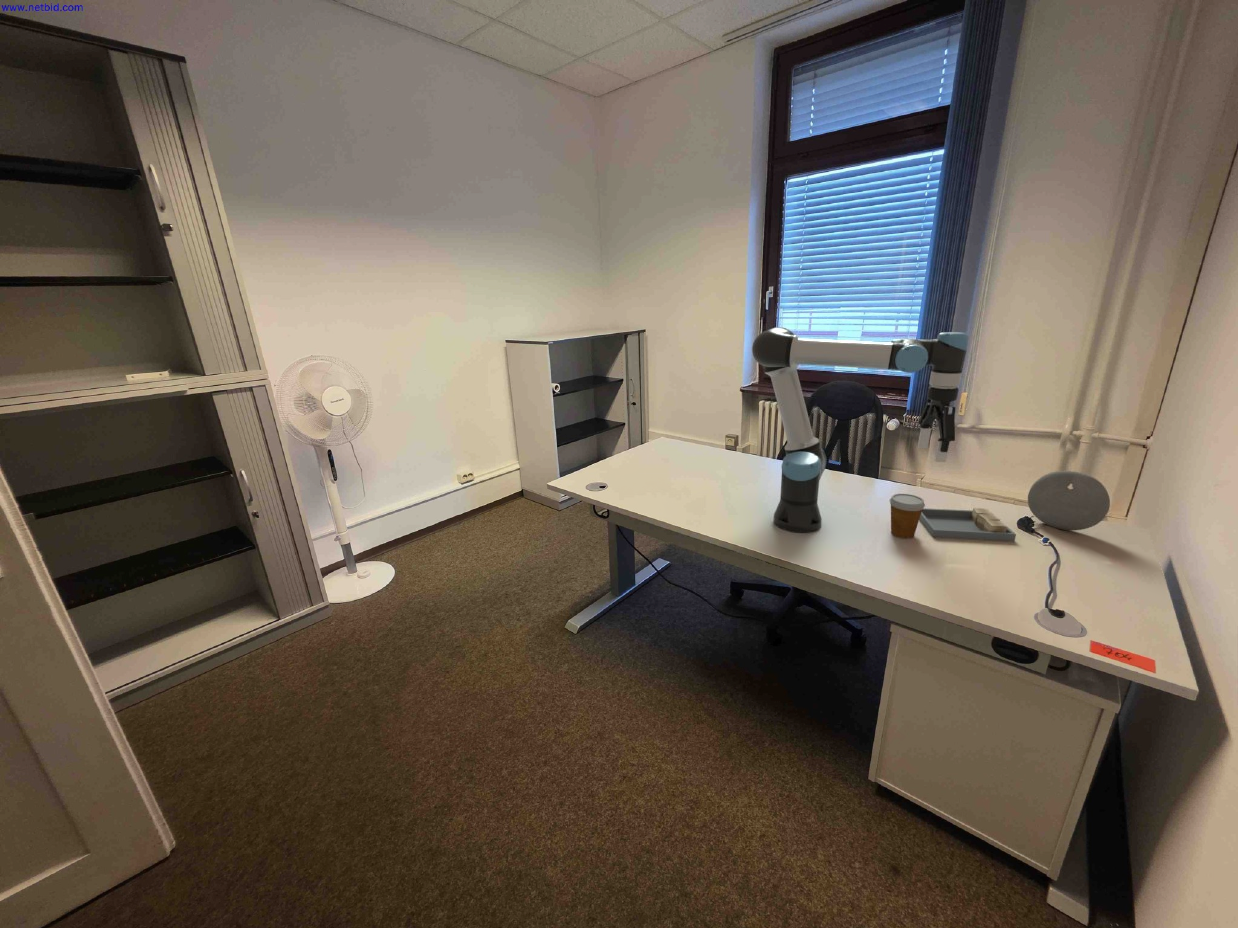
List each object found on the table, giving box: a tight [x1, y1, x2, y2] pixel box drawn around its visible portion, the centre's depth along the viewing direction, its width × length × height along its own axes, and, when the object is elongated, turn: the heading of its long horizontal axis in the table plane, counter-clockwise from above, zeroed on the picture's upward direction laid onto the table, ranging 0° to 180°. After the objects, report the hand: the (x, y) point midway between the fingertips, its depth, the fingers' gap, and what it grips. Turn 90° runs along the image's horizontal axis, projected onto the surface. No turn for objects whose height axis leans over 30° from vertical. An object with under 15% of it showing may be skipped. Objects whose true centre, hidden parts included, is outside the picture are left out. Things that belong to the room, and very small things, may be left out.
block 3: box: [983, 520, 1008, 533], centre depth 148 cm, size 4×4×4 cm
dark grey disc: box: [1027, 470, 1111, 531], centre depth 149 cm, size 18×7×19 cm, turn 44°
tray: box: [919, 507, 1017, 543], centre depth 154 cm, size 22×17×3 cm
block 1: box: [971, 507, 993, 524], centre depth 157 cm, size 4×4×4 cm
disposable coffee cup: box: [889, 493, 926, 539], centre depth 152 cm, size 10×10×12 cm
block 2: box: [976, 513, 1001, 530], centre depth 152 cm, size 4×4×4 cm
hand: (930, 454), depth 151 cm, fingers open, 13 cm apart
